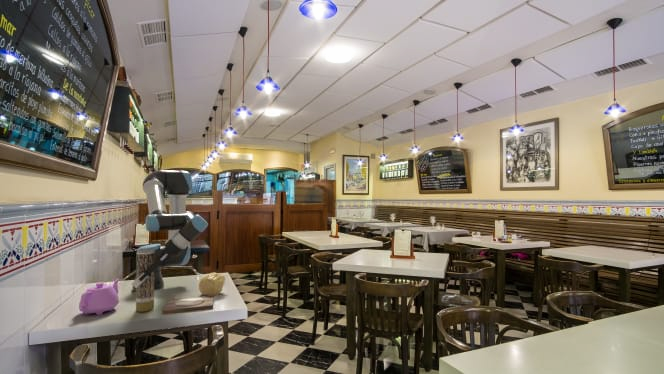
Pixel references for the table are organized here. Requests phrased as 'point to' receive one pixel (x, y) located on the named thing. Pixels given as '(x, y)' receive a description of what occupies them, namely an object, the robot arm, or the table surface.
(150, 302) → the paper tube
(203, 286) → the sculpture
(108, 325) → the table surface
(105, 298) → the teapot
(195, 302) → the walnut board
